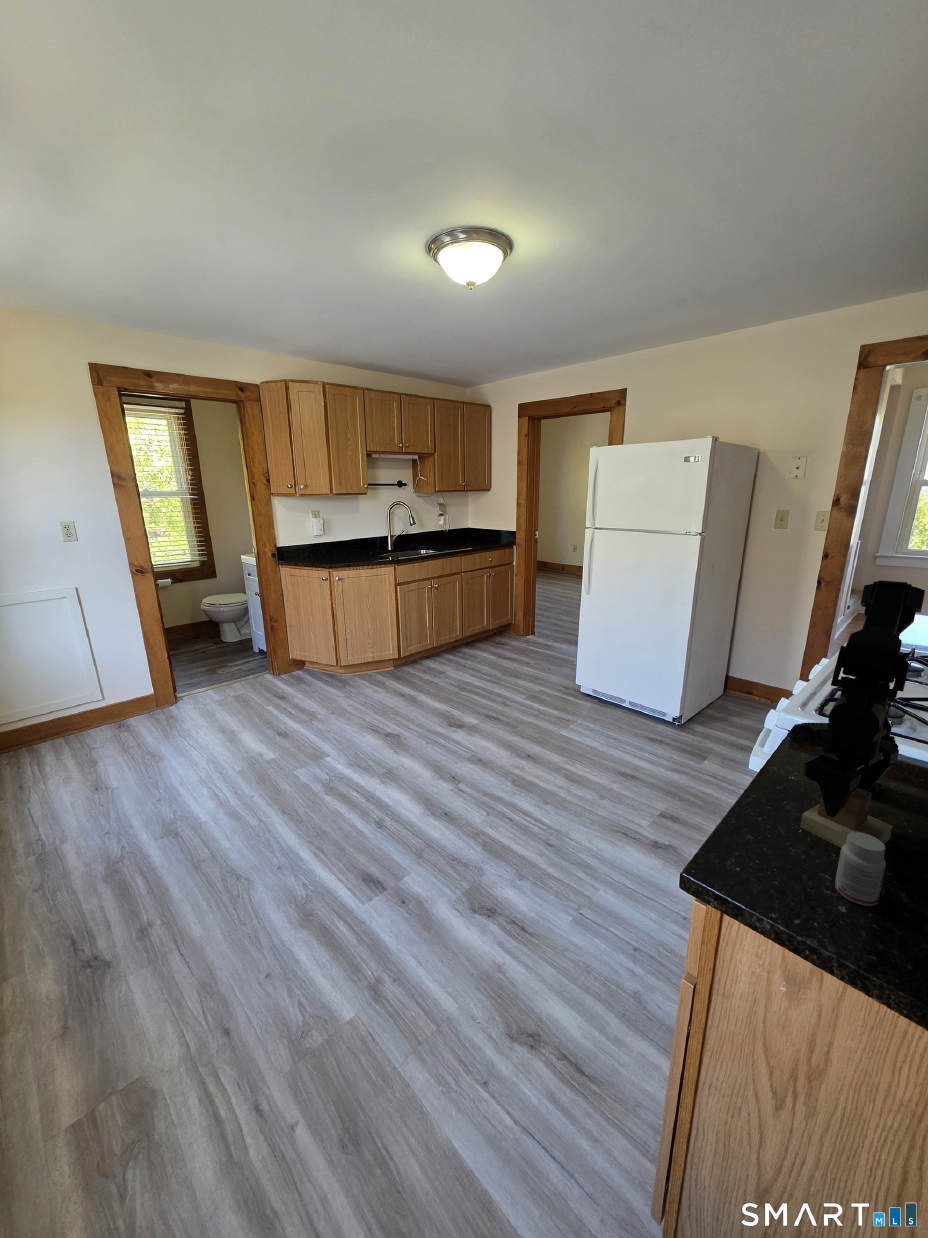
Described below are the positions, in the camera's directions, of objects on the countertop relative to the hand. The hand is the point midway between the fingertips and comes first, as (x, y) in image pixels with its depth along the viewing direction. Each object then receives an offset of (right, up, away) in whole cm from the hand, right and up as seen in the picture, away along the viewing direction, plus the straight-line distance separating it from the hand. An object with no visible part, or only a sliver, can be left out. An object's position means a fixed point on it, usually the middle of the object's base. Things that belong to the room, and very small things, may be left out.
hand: (843, 807), depth 79 cm
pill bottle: (-8, -7, -12) cm, 17 cm away
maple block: (0, -5, 0) cm, 5 cm away
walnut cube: (0, -2, 0) cm, 2 cm away
